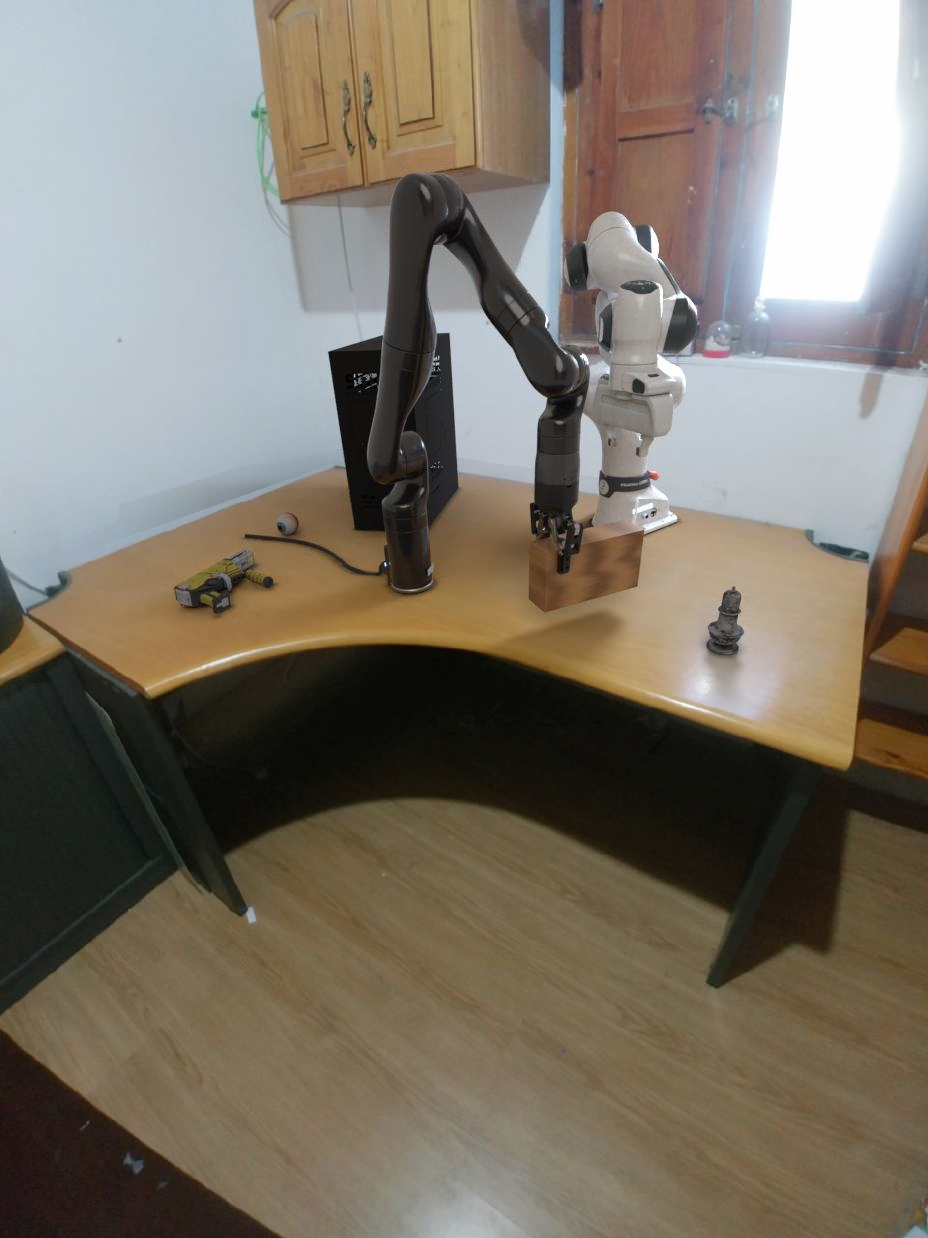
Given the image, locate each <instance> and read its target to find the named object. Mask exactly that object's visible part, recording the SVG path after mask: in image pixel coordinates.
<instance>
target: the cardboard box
mask: <svg viewBox="0 0 928 1238" xmlns="http://www.w3.org/2000/svg"><path fill="white" fill-rule="evenodd" d="M382 341H383V334H381V335H378V336H375V337H372V338H368V339H365V340H361V341H358V342H355V343H351V344H348V345H345V346H342V347H339V348H335V349H331V350H330V351H327V355H328V361H329V367H330V374H331V382H332V388H333V395H334V401H335V408H336V414H337V420H338V427H339V433H340V440H341V447H342V455H343V460H344V465H345V466H344V467H345V474H346V480H347V486H348V487H347V488H348V493H349V500H350V507H351V513H352V520H353V527H354V530H358V531H359V530H360V531H361V530H363V531H384V532H385V527H384V519H383V511H382V500H383V498H384V497H385V496H386V495H387V494H388V493H389V492H390V491H391V490H392V489H393V487H394V485H395V483H393V484H387V485H384V484H380V483H378V482H377V481H375V480H374V478H373V477H372V475H371V473H370V471H369V467H368V461H367V449H368V442H369V437H370V432H371V428H372V423H373V418H374V413H375V408H376V401H377V393H378V386H379V377H380V366H381V351H382ZM452 367H453V366H452V349H451V333H450V332H437V341H436V348H435V355H434V361H433V367H432V372H431V375H430V378H429V381H428V383H427V385H426V387H425V388H424V390H423V392H422V393H421V395H420V397H419V398H418V400H417V402H416V403H415V405H414V406H413V408H412V410H411V411H410V413H409V415H408V417H407V419H406V422H405V425H404V429H403V431H404V430H411V431H414V432H416V433H417V434H418V435H419V436H420V437H421V439H422V440H423V442H424V445H425V448H426V452H427V459H428V484H429V495H428V499H427V502H426V508H427V519H428V529H429V528H431V526H432V524H433V523H434V522H435V520H436V519H437V517H438V516H439V515H440V513H441V512H442V511H443V510H444V508H445V507H446V506H447V504H448V503H449V501H450V500H451V499H452V497H453V496H454V495H455V494H456V492H457V491H458V490H459V488H460V487H459V471H458V455H457V454H458V453H457V438H456V437H457V436H456V421H455V418H456V417H455V404H454V403H455V401H454V384H453V383H454V382H453V369H452Z"/></svg>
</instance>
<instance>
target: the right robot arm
mask: <svg viewBox="0 0 928 1238" xmlns="http://www.w3.org/2000/svg"><path fill="white" fill-rule="evenodd" d="M658 256H659V241H658V237H657V235H656V233H655V232H654V229H653V227H652V226H651V225H650V224H634V226H632V224H631V223H630V221H629V220H628V219H627V218H626V217H625V215H624V214H622V213H620V212H619V211H607V212H603V213H601V214H600V215H599V216H598V217H596V219H594V220H593V221H592V224H591V225H590V227H589V229H588V233H587V237H586V240H585V241H579V242H577V243H576V244H573V246H571V247H570V248H568V250H567V252H566V253H565V258H564V261H563V274H564V278H565V281H566V284H568V286H569V287H570V288H569V289H571V290H572V291H573V292H574V293H586V292H588V291H590V290H597V289H600V291H599V292H598V294H597V297H596V300H595V313H594V314H595V318H594V319H595V330H596V336H597V344H598V349H599V355H600V357H601V360H602V361H603V363H605V364H606V365H607V366H604V367H599V368H596V369H592V370H590V380H589V387H588V392H587V397H586V401H585V406H584V410H583V415H585V416H586V417H588V418H589V419H590V420H591V421H592V422H593V424H594V426H595V427H596V429H597V431H598V434H599V436H600V437H599V438H600V441H601V442H600V443H601V468H600V470H599V474H598V492H599V493H598V498H597V502H596V507H595V511H594V514H593V517H592V520H591V525H592V527H595V526H599V525H604V524H608V523H612V522H617V521H621V520H626V521H628V522H630V523H632V524H634V525H636V526H638V527H640V528H642V529H644V535H646V534H650V533H652V532H654V531H657V530H660V529H662V528H665V527H668V526H670V525H672V524H675V523H677V522H678V516H677V515H676V514H675V513H674V512H672V511H670V503H669V502H670V501H669V498H668V497H667V496H666V495H665V494H664V493H663V492H661V491H660V490H659V489H658V488H656V487H655V486H654V485H652V483H651V480H653V481H658V479H659V478H660V473H659V472H657V471H654V470H651V471H649V470H648V469H647V466H648V458H649V457H648V455H649V448H650V446H651V445H652V443H653V441H654V440H655V438H661V437H665V436H667V435H668V434H669V432H670V431H671V429H672V425H673V415H674V410H675V409H676V408H678V406H680V404H681V403H682V401H683V400H684V398H685V395H686V392H687V379H686V376H685V374H684V372H683V370H682V369H681V368H680V367H679V366H677V365H674V364H672V363H670V362H668V361H667V360H665V359H664V358H662V356H660V355H659V354H660V353H662V354H670V355H672V354H673V355H678V354H680V353H681V352H683V350H685V349H686V348H687V347H688V346H689V345H690V344H691V343H692V342H693V340H694V339H695V337H696V334H697V330H698V312H697V308H696V306H695V305H694V302H692V300H691V299H690V298H689V297H688V296H687V295H686V294H684V293H683V292H682V290H681V288H680V287H679V285H678V283H677V282H676V280H675V279H674V277H673V275H672V273H671V272H670V270H669V268H668V267H667V266H666V265H665V263H664V262H663V260H662V259H661V258H659V257H658Z"/></svg>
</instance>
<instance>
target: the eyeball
mask: <svg viewBox="0 0 928 1238" xmlns="http://www.w3.org/2000/svg"><path fill="white" fill-rule="evenodd" d="M299 525H300V522H299V519H298V517H297V516H296V515H295V514H294V513H292V512H287V511H286V512H282V513H280V514H279V515H278V516H277V517H276V520H275V527H276V529H277V530H278V531H279V532H280V533H281V534H282V535H285V536H286V535H287V536H289V535H293V534H295V533H296V532H297V531H298V529H299Z"/></svg>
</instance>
